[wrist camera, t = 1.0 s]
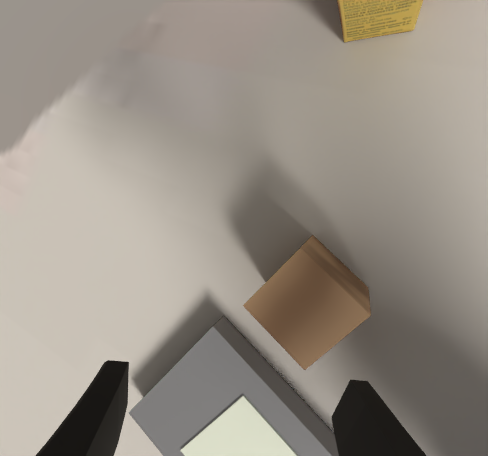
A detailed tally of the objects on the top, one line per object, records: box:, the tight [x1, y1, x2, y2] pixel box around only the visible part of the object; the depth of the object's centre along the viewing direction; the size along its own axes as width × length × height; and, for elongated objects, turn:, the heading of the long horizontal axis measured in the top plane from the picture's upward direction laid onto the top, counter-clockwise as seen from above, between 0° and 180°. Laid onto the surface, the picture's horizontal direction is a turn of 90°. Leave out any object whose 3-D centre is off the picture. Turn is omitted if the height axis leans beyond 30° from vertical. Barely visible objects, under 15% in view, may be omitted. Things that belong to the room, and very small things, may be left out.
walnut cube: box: [243, 235, 371, 370], centre depth 20 cm, size 5×5×5 cm
